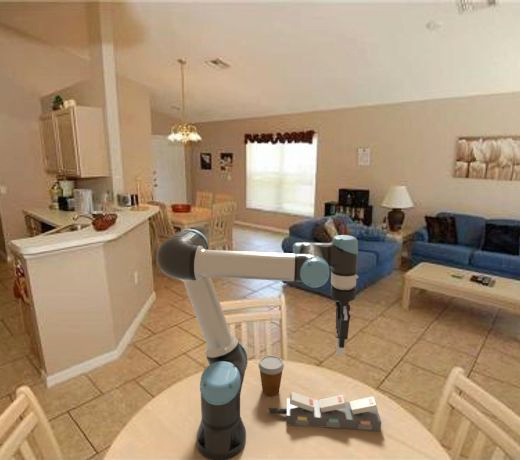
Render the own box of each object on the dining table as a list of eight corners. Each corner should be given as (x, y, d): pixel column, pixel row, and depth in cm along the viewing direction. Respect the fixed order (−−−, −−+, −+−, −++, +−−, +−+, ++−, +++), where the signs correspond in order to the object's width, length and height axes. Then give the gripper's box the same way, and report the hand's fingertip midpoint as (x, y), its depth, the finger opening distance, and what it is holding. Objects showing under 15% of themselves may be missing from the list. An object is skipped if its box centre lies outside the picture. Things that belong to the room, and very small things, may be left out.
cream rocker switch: (353, 414, 111) (351, 409, 111) (350, 405, 115) (349, 401, 115) (377, 409, 110) (376, 404, 110) (374, 400, 114) (373, 395, 114)
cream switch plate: (321, 412, 112) (320, 407, 112) (320, 403, 116) (319, 399, 116) (346, 407, 111) (344, 402, 111) (344, 399, 115) (342, 394, 115)
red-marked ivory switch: (289, 403, 113) (291, 399, 112) (289, 395, 116) (291, 391, 116) (312, 412, 113) (315, 407, 112) (312, 403, 116) (314, 398, 116)
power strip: (268, 424, 112) (268, 412, 111) (269, 405, 120) (269, 394, 119) (380, 432, 109) (382, 419, 108) (374, 412, 117) (375, 401, 116)
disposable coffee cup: (281, 401, 123) (282, 371, 120) (255, 397, 124) (255, 368, 122) (285, 384, 132) (285, 356, 129) (260, 380, 134) (261, 353, 131)
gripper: (360, 294, 99) (356, 366, 104) (351, 278, 112) (348, 343, 117) (334, 293, 100) (331, 366, 105) (328, 277, 112) (326, 343, 117)
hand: (340, 354), depth 111 cm, fingers closed
